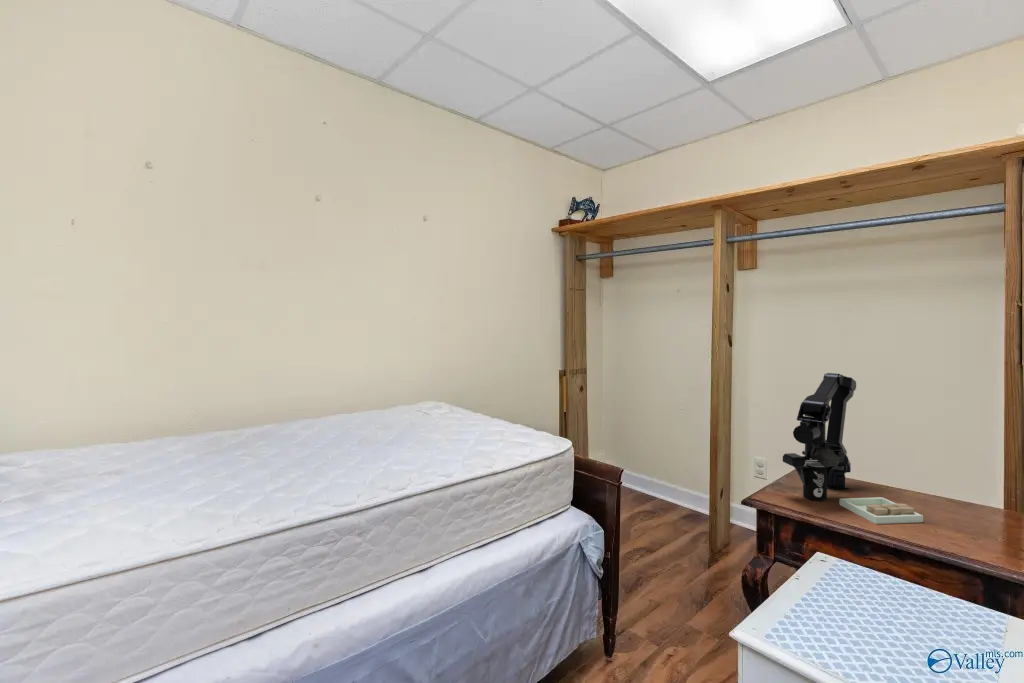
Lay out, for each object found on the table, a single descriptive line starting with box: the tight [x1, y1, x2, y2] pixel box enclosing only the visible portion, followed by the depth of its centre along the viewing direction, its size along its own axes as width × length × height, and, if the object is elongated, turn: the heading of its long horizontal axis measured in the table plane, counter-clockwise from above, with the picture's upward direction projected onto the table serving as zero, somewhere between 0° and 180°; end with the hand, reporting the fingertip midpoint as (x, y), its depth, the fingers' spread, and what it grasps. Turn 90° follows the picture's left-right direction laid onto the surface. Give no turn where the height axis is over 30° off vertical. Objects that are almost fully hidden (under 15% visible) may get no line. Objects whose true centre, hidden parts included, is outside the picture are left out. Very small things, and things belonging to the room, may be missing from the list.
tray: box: [839, 496, 924, 525], centre depth 140 cm, size 14×14×2 cm
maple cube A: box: [866, 505, 888, 516], centre depth 136 cm, size 4×4×4 cm
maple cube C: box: [893, 503, 915, 515], centre depth 137 cm, size 4×4×4 cm
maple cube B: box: [880, 504, 901, 515], centre depth 136 cm, size 4×4×4 cm
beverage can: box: [802, 462, 828, 502], centre depth 153 cm, size 7×7×12 cm
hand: (815, 484), depth 153 cm, fingers open, 7 cm apart
